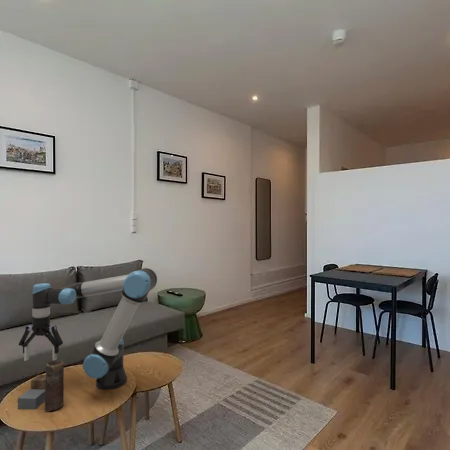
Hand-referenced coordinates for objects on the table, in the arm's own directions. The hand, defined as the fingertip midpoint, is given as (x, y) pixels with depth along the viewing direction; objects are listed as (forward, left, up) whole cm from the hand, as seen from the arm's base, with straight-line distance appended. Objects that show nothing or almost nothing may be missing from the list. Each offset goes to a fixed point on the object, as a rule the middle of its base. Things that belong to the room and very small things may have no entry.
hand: (40, 360), depth 156 cm
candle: (-13, +11, -17) cm, 24 cm away
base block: (-2, +9, -17) cm, 19 cm away
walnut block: (0, 0, -16) cm, 16 cm away
